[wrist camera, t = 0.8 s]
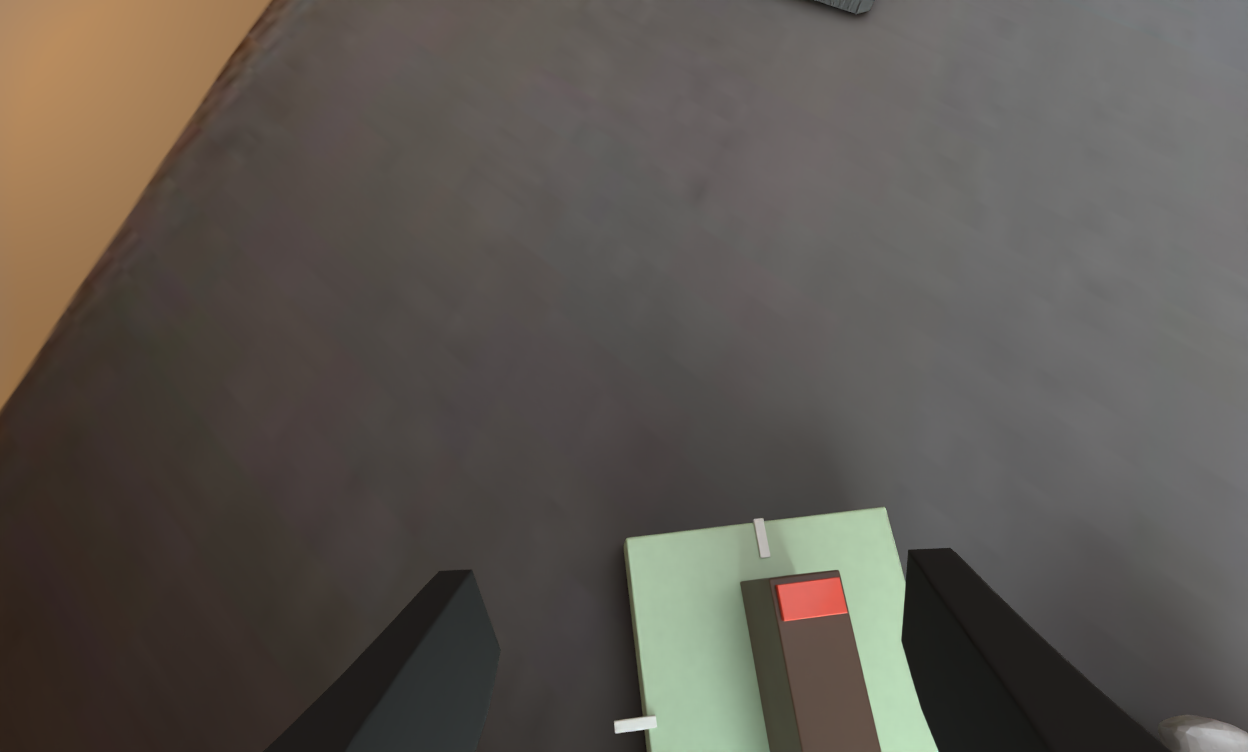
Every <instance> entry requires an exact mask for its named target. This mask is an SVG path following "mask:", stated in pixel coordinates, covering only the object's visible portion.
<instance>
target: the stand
mask: <svg viewBox="0 0 1248 752" xmlns="http://www.w3.org/2000/svg"><path fill="white" fill-rule="evenodd" d="M623 548H624V556H625V565H626V574H627V582H628V591H629V600H630V608H631V617H632V626H633V635H634V643H635V652H636V661H637V669H638V678H639V687H640V695H641V704H642V713H643V717H636V718H629V719H622V720H615V721H614V727H615V733H616V734H617V733H623V732H630V731H637V730H645V739H646V747H647V752H770V749H769V743H768V738H767V732H766V727H765V721H764V715H763V710H762V704H761V698H760V693H759V687H758V681H757V676H756V670H755V664H754V659H753V653H752V647H751V642H750V636H749V630H748V625H747V619H746V613H745V608H744V602H743V596H742V591H741V585H740V582H741V581H747V580H755V579H763V578H771V577H778V576H786V575H794V574H803V573H812V572H821V571H830V570H839V572H840V576H841V580H842V584H843V589H844V593H845V597H846V602H847V606H848V610H849V614H850V619H851V623H852V627H853V632H854V636H855V640H856V644H857V649H858V653H859V657H860V662H861V666H862V670H863V675H864V679H865V683H866V687H867V692H868V696H869V700H870V705H871V709H872V713H873V718H874V722H875V726H876V730H877V735H878V739H879V743H880V748H881V752H939V751H938V749H937V747H936V744H935V742H934V739H933V737H932V734H931V732H930V730H929V727H928V725H927V722H926V720H925V717H924V715H923V712H922V710H921V707H920V703H919V700H918V697H917V693H916V690H915V687H914V684H913V680H912V677H911V674H910V670H909V666H908V663H907V659H906V656H905V652H904V649H903V645H902V642H901V636H902V624H903V611H904V598H905V586H906V583H905V579H904V575H903V571H902V568H901V564H900V560H899V557H898V553H897V549H896V545H895V542H894V538H893V534H892V530H891V527H890V523H889V519H888V515H887V512H886V508H885V507H878V508H869V509H861V510H853V511H845V512H836V513H828V514H820V515H811V516H803V517H795V518H787V519H778V520H770V521H764V520H763V518H759V519H753V523H745V524H737V525H729V526H720V527H712V528H704V529H696V530H687V531H679V532H671V533H663V534H654V535H646V536H638V537H629V538H626V540H625V543H624V546H623Z"/></svg>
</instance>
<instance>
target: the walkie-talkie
mask: <svg viewBox="0 0 1248 752" xmlns="http://www.w3.org/2000/svg"><path fill="white" fill-rule="evenodd" d="M815 1H818V2H821V3H824V4H827V5H831V6H834V7H837V8H840V9H843V10H846V11H849V12H852V13H856V14H858V13H862V12H866V11H870V9H871V7H872V5H873V3H874V0H815Z"/></svg>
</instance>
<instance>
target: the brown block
mask: <svg viewBox="0 0 1248 752" xmlns="http://www.w3.org/2000/svg"><path fill="white" fill-rule="evenodd" d="M740 585H741V591H742V596H743V602H744V608H745V613H746V619H747V625H748V630H749V636H750V642H751V647H752V653H753V659H754V664H755V670H756V676H757V681H758V687H759V693H760V698H761V704H762V710H763V715H764V721H765V727H766V732H767V738H768V743H769V749H770V752H881V748H880V743H879V739H878V735H877V730H876V726H875V722H874V718H873V713H872V709H871V705H870V700H869V696H868V692H867V687H866V683H865V679H864V675H863V670H862V666H861V662H860V657H859V653H858V649H857V644H856V640H855V636H854V632H853V627H852V623H851V619H850V614H849V610H848V606H847V602H846V597H845V593H844V589H843V584H842V580H841V576H840V572H839V570H830V571H821V572H812V573H803V574H794V575H786V576H778V577H771V578H763V579H755V580H747V581H741V582H740Z"/></svg>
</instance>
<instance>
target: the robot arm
mask: <svg viewBox="0 0 1248 752" xmlns="http://www.w3.org/2000/svg"><path fill="white" fill-rule="evenodd" d="M901 642H902V645H903V649H904V652H905V656H906V659H907V663H908V666H909V670H910V674H911V677H912V680H913V684H914V687H915V690H916V693H917V697H918V700H919V703H920V707H921V710H922V712H923V715H924V717H925V720H926V722H927V725H928V727H929V730H930V732H931V734H932V737H933V739H934V742H935V744H936V747H937V749H938V751H939V752H1172V751H1171V750H1170V749H1169V748H1168V747H1166V746H1165V745H1164V744H1163V743H1161V742H1160V741H1159V740H1158V739H1157V738H1156V737H1154V736H1153V735H1152V734H1151V733H1150V732H1148V731H1147V730H1146V729H1145V728H1144V727H1143V726H1141V725H1140V724H1139V723H1138V722H1137V721H1136V720H1134V719H1133V718H1132V717H1131V716H1130V715H1128V714H1127V713H1126V712H1125V711H1124V710H1123V709H1121V708H1120V707H1119V706H1118V705H1117V704H1116V703H1114V702H1113V701H1112V700H1111V699H1110V698H1109V697H1108V696H1106V695H1105V694H1104V693H1103V692H1102V691H1101V690H1100V689H1098V688H1097V687H1096V686H1095V685H1094V684H1093V683H1092V682H1091V681H1089V680H1088V679H1087V678H1086V677H1085V676H1084V675H1083V674H1082V673H1081V672H1080V671H1079V670H1077V669H1076V668H1075V667H1074V666H1073V665H1072V664H1071V663H1070V662H1069V661H1068V660H1066V659H1065V658H1064V657H1063V656H1062V655H1061V654H1060V653H1059V652H1058V651H1057V650H1056V649H1054V648H1053V647H1052V646H1051V645H1050V644H1049V643H1048V642H1047V641H1046V640H1045V639H1044V638H1043V637H1041V636H1040V635H1039V634H1038V633H1037V632H1036V631H1035V630H1034V629H1033V628H1032V627H1031V626H1030V625H1029V624H1028V623H1027V622H1026V621H1025V620H1024V619H1023V618H1022V617H1021V616H1019V615H1018V614H1017V613H1016V612H1015V611H1014V610H1013V609H1012V608H1011V607H1010V606H1009V605H1008V604H1007V603H1006V602H1005V601H1004V600H1003V599H1002V598H1001V597H1000V596H999V595H998V594H997V593H996V592H995V591H994V590H993V589H992V588H991V587H990V586H989V585H988V584H987V583H986V582H985V581H984V580H983V579H982V578H981V577H980V576H979V575H978V574H977V573H976V572H975V571H974V570H973V569H972V568H971V567H970V566H969V565H968V564H967V563H966V562H965V561H964V560H963V559H962V558H961V557H960V556H959V555H958V554H957V553H956V552H954V551H953V550H952V549H951V548H939V549H917V550H908V560H907V573H906V586H905V598H904V611H903V624H902V636H901ZM500 651H501V650H500V647H499V644H498V641H497V638H496V636H495V633H494V630H493V627H492V624H491V622H490V619H489V616H488V613H487V610H486V608H485V605H484V602H483V599H482V596H481V594H480V591H479V588H478V585H477V582H476V580H475V577H474V574H473V571H472V570H452V571H439V572H438V573H437V574H436V575H435V576H434V577H433V578H432V579H431V580H430V581H429V582H428V583H427V584H426V585H425V587H424V588H423V589H422V590H421V591H420V592H419V593H418V594H417V595H416V596H415V597H414V598H413V599H412V601H411V602H410V603H409V604H408V605H407V606H406V607H405V608H404V609H403V610H402V611H401V612H400V614H399V615H398V616H397V617H396V618H395V619H394V620H393V621H392V622H391V623H390V624H389V625H388V627H387V628H386V629H385V630H384V631H383V632H382V633H381V634H380V635H379V636H378V637H377V638H376V639H375V640H374V641H373V643H372V644H371V645H370V646H369V647H368V648H367V649H366V650H365V651H364V652H363V653H362V654H361V655H360V656H359V657H358V658H357V659H356V660H355V662H354V663H353V664H352V665H351V666H350V667H349V668H348V669H347V670H346V671H345V672H344V673H343V674H342V675H341V676H340V677H339V678H338V679H337V680H336V681H335V682H334V683H333V684H332V685H331V686H330V687H329V688H328V689H327V690H326V691H325V692H324V693H323V694H322V695H321V696H320V697H319V698H318V699H317V700H316V701H315V702H314V703H313V704H312V705H311V706H310V707H309V708H308V709H307V710H306V711H305V712H304V713H303V714H302V715H301V716H300V717H299V718H298V719H297V720H296V721H295V722H294V723H293V724H292V725H291V726H290V727H289V728H288V729H287V730H285V731H284V732H283V733H282V734H281V735H280V736H279V737H278V738H277V739H276V740H275V741H274V742H273V743H272V744H271V745H270V746H269V747H268V748H266V749H265V750H264V751H263V752H475V751H476V748H477V745H478V742H479V739H480V736H481V733H482V730H483V726H484V723H485V720H486V717H487V713H488V710H489V705H490V701H491V696H492V691H493V687H494V682H495V677H496V672H497V666H498V661H499V656H500Z"/></svg>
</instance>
